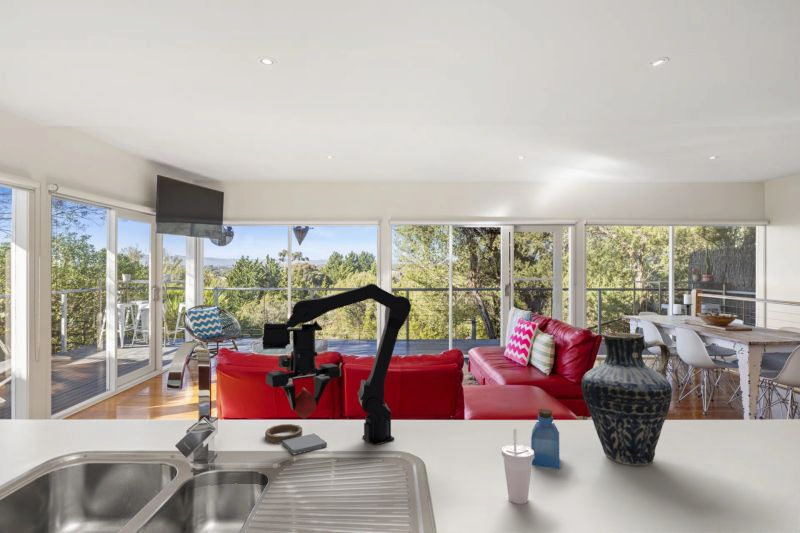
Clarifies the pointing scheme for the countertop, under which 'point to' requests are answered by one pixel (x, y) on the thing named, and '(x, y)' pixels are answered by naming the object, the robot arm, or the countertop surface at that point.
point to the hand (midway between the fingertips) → (304, 407)
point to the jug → (628, 398)
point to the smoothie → (517, 470)
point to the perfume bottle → (545, 441)
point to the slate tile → (304, 443)
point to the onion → (305, 404)
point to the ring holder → (282, 428)
